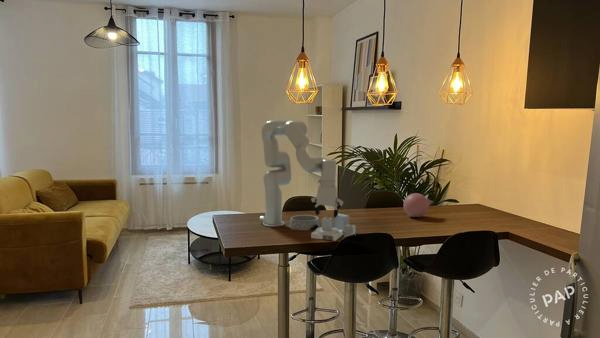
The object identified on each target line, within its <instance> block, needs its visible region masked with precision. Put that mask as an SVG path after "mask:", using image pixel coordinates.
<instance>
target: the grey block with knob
mask: <svg viewBox="0 0 600 338" xmlns="http://www.w3.org/2000/svg"><path fill="white" fill-rule="evenodd" d="M321 227H322V230H324V231H331V230H332V229H333V228H334V217H328V216H325V217H322V218H321Z"/></svg>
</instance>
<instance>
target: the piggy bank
mask: <svg viewBox="0 0 600 338" xmlns="http://www.w3.org/2000/svg"><path fill="white" fill-rule="evenodd" d="M432 204H434V201H433V200H430V199H429V198H426V196H424V194H421V193H418V192H414V193H410V194H409V195H407V196H406V197H405V199H404V201H403V205H402V206H403V210H404V212H405V213H406V215H408V216H409V217H411V218H415V217H418V218H421V217H423V216H425V215H426V214H427V212H428V210H429V208H430V207H429V206H431V205H432Z"/></svg>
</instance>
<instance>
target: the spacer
mask: <svg viewBox="0 0 600 338" xmlns="http://www.w3.org/2000/svg"><path fill="white" fill-rule="evenodd" d="M353 234H355V235H356V225H355V224H350V223H349V224H347V225H346V226H345V232H344V234H343V235H344V238H345V237H346V236H349V235H353Z"/></svg>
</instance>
